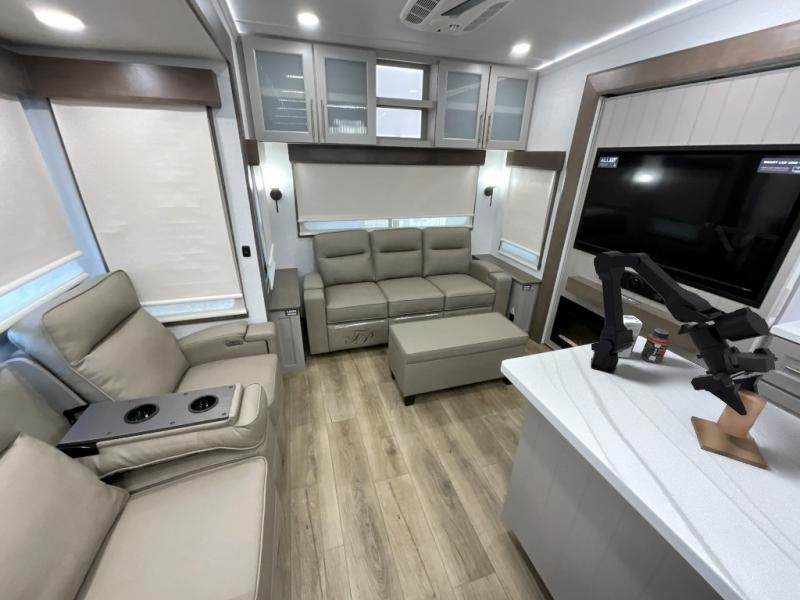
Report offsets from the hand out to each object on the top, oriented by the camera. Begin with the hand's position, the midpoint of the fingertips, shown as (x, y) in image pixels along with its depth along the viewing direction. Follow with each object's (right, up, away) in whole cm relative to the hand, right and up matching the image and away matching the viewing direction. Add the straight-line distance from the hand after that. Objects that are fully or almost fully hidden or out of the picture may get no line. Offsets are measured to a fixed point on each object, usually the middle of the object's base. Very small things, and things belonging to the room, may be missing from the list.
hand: (751, 411), depth 71 cm
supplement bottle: (+8, +5, +38) cm, 39 cm away
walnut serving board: (0, -9, +5) cm, 11 cm away
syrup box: (-2, +6, +41) cm, 42 cm away
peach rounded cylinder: (0, -5, +4) cm, 7 cm away
